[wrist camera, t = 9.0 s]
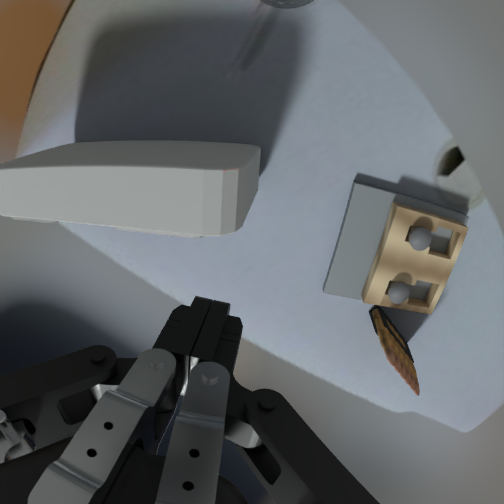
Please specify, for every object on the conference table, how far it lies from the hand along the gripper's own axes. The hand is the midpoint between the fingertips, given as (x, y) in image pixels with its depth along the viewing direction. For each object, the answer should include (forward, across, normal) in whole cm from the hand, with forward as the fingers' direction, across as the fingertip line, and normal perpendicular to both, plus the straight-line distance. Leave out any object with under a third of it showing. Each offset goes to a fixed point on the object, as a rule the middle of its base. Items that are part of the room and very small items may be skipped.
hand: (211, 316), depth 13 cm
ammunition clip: (+29, -24, +19) cm, 42 cm away
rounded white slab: (+29, +15, 0) cm, 33 cm away
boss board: (+29, -20, +6) cm, 36 cm away
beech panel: (+28, -22, +6) cm, 36 cm away
